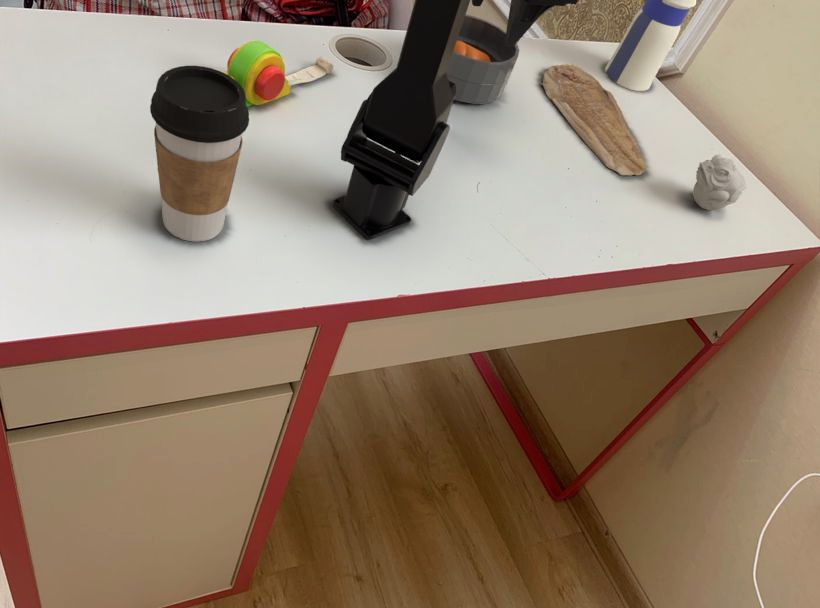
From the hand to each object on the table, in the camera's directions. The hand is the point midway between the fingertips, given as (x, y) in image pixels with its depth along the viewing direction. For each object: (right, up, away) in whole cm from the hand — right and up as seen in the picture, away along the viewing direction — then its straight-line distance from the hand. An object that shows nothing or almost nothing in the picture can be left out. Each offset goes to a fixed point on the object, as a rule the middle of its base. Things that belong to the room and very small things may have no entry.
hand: (492, 24), depth 85 cm
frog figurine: (+30, -20, +10) cm, 37 cm away
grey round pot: (-2, -1, +16) cm, 16 cm away
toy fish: (-2, 0, +15) cm, 15 cm away
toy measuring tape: (-27, -6, +4) cm, 28 cm away
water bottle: (+27, +5, +29) cm, 40 cm away
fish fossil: (+18, -6, +18) cm, 26 cm away
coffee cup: (-33, -26, -14) cm, 44 cm away
